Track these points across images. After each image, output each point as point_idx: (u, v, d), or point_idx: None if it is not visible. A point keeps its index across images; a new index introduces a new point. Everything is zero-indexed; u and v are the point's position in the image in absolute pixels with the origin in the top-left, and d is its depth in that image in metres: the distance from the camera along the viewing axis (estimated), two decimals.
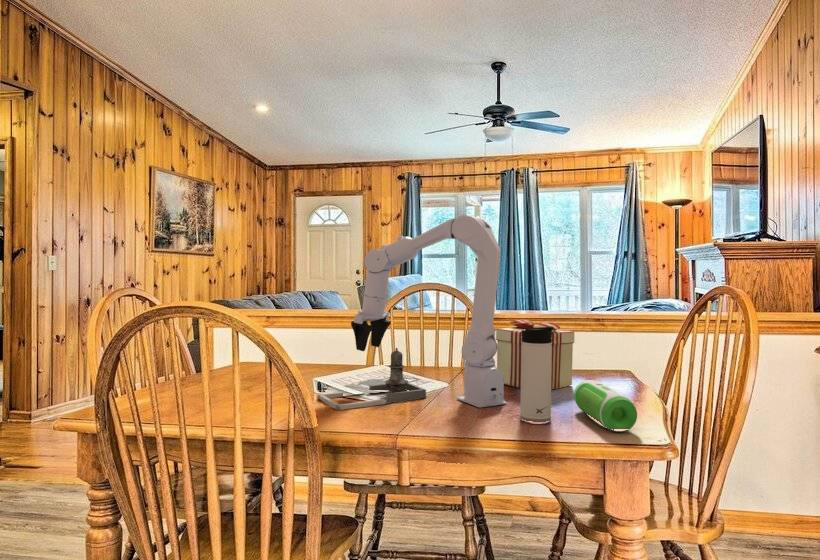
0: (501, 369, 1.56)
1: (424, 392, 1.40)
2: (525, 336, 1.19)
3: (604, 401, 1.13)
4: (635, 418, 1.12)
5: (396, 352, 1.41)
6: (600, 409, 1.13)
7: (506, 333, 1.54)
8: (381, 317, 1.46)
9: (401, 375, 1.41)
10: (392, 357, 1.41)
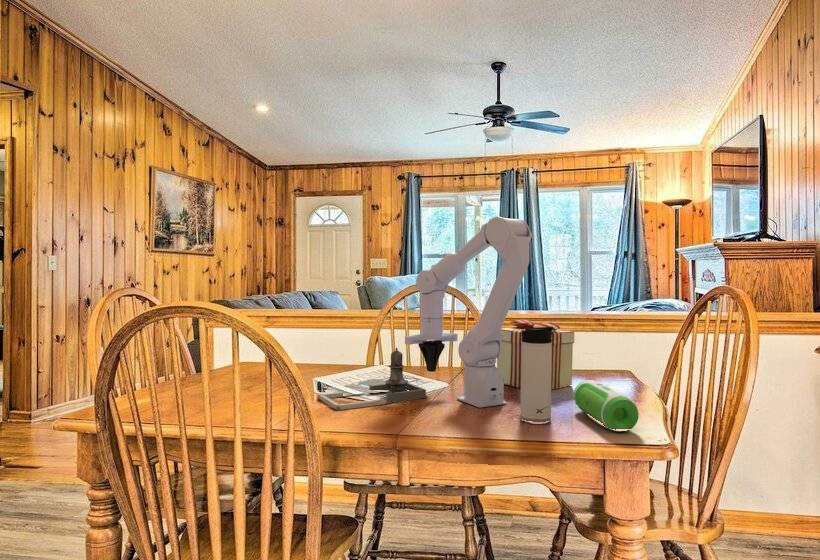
0: (501, 369, 1.56)
1: (424, 392, 1.40)
2: (525, 336, 1.19)
3: (605, 401, 1.13)
4: (636, 418, 1.12)
5: (396, 352, 1.41)
6: (602, 409, 1.13)
7: (506, 333, 1.54)
8: (435, 338, 1.44)
9: (401, 375, 1.41)
10: (392, 357, 1.41)
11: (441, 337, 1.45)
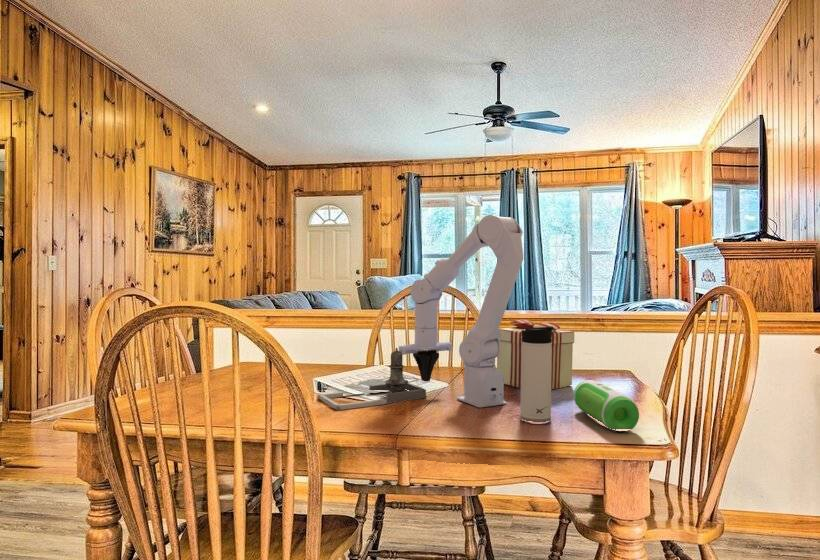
0: (501, 369, 1.56)
1: (424, 392, 1.40)
2: (525, 336, 1.19)
3: (606, 401, 1.13)
4: (637, 418, 1.12)
5: (396, 352, 1.41)
6: (602, 409, 1.13)
7: (506, 333, 1.54)
8: (429, 348, 1.43)
9: (401, 375, 1.41)
10: (392, 357, 1.41)
11: (435, 347, 1.44)
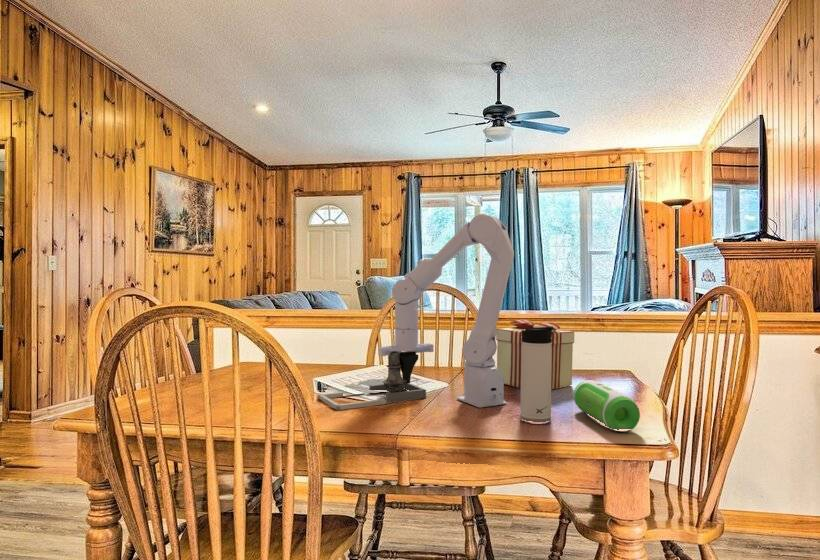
0: (501, 369, 1.56)
1: (424, 392, 1.40)
2: (525, 336, 1.19)
3: (607, 401, 1.13)
4: (638, 418, 1.12)
5: (393, 352, 1.41)
6: (603, 409, 1.13)
7: (506, 333, 1.54)
8: (410, 349, 1.40)
9: (399, 374, 1.41)
10: (389, 357, 1.40)
11: (416, 348, 1.41)
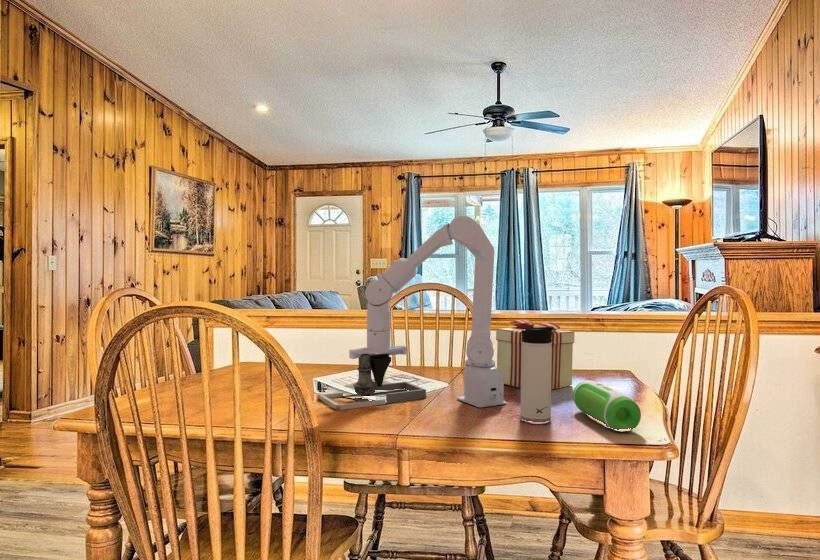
0: (501, 369, 1.56)
1: (424, 392, 1.40)
2: (525, 336, 1.19)
3: (608, 401, 1.13)
4: (639, 418, 1.12)
5: (364, 354, 1.37)
6: (604, 410, 1.13)
7: (506, 333, 1.54)
8: (381, 352, 1.36)
9: (369, 377, 1.37)
10: (359, 360, 1.37)
11: (388, 350, 1.37)
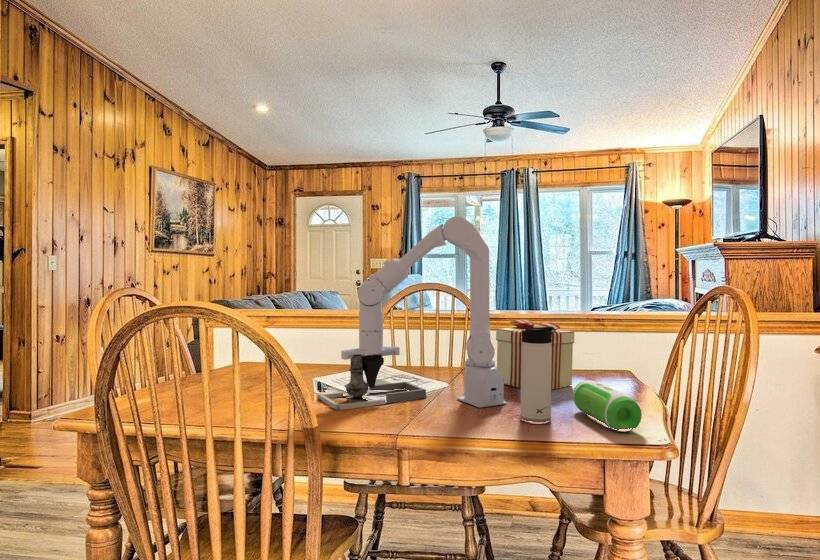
0: (501, 369, 1.56)
1: (424, 392, 1.40)
2: (525, 336, 1.19)
3: (609, 401, 1.13)
4: (640, 418, 1.12)
5: (355, 355, 1.36)
6: (605, 410, 1.13)
7: (506, 333, 1.54)
8: (374, 352, 1.35)
9: (361, 378, 1.36)
10: (351, 360, 1.36)
11: (380, 351, 1.36)
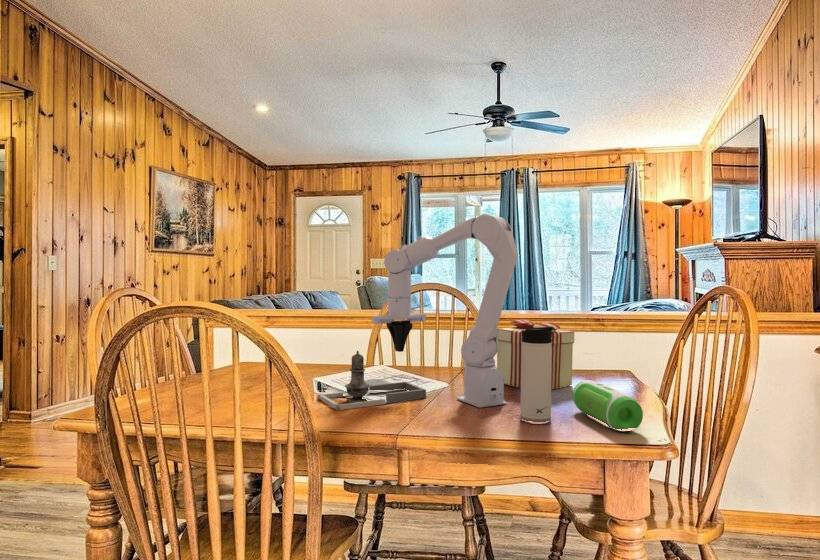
0: (501, 369, 1.56)
1: (424, 392, 1.40)
2: (525, 336, 1.19)
3: (610, 401, 1.13)
4: (641, 418, 1.12)
5: (357, 355, 1.36)
6: (607, 410, 1.13)
7: (506, 333, 1.54)
8: (403, 318, 1.43)
9: (362, 379, 1.36)
10: (352, 360, 1.36)
11: (409, 317, 1.44)
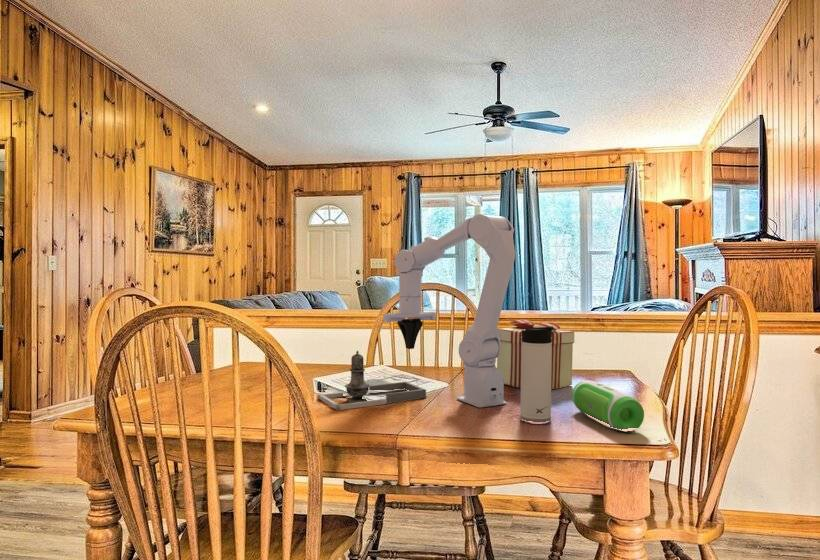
0: (501, 369, 1.56)
1: (424, 392, 1.40)
2: (525, 336, 1.19)
3: (612, 401, 1.13)
4: (642, 418, 1.12)
5: (356, 355, 1.36)
6: (608, 410, 1.13)
7: (506, 333, 1.54)
8: (413, 316, 1.47)
9: (362, 379, 1.36)
10: (352, 360, 1.36)
11: (419, 315, 1.48)
